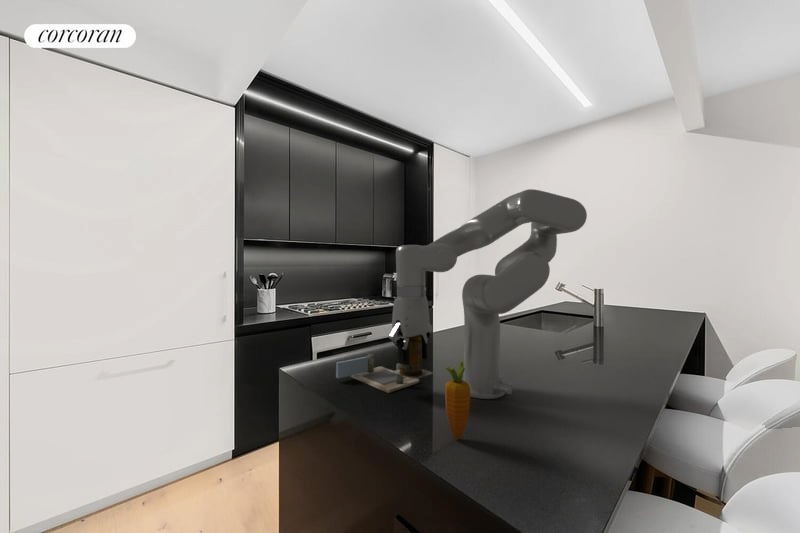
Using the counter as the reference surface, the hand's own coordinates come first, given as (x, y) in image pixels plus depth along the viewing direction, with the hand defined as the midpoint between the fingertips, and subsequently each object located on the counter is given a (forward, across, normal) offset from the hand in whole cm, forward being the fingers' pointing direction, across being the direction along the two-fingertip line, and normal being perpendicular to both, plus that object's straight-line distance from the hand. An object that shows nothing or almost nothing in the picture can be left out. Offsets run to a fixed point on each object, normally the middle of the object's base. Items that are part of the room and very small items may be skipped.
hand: (413, 360), depth 87 cm
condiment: (+3, 0, 0) cm, 3 cm away
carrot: (+9, +10, +21) cm, 25 cm away
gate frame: (+9, -2, -14) cm, 16 cm away
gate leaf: (+7, +5, -21) cm, 22 cm away
